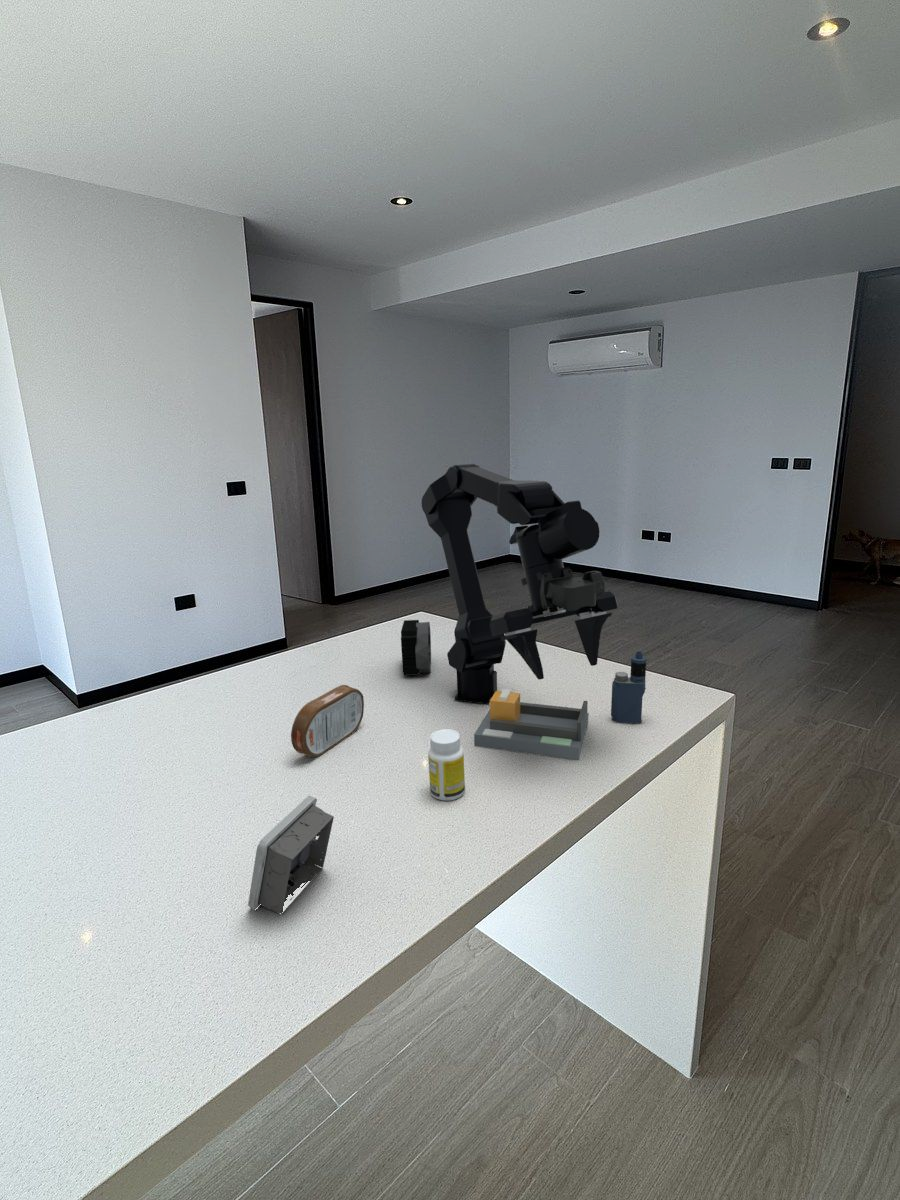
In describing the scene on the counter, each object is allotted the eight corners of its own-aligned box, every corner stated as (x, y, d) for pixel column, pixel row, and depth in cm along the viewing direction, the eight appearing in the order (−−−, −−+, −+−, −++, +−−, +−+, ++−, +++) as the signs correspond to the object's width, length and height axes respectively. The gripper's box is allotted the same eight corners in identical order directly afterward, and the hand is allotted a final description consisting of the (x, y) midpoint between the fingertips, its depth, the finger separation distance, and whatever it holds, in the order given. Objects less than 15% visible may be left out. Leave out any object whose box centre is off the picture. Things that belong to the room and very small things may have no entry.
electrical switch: (299, 856, 74) (298, 788, 71) (337, 870, 72) (337, 801, 69) (246, 912, 66) (242, 838, 63) (288, 929, 64) (285, 854, 61)
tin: (354, 722, 107) (350, 676, 105) (369, 726, 105) (365, 679, 103) (291, 763, 94) (286, 712, 92) (307, 768, 93) (302, 716, 91)
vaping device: (644, 724, 103) (648, 655, 99) (611, 722, 104) (613, 654, 100) (642, 717, 105) (646, 650, 102) (610, 715, 106) (613, 648, 103)
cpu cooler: (430, 680, 123) (428, 631, 121) (401, 680, 123) (398, 631, 121) (432, 661, 133) (430, 615, 131) (405, 661, 133) (403, 616, 131)
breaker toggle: (490, 723, 100) (489, 697, 99) (496, 712, 104) (496, 687, 103) (514, 726, 99) (514, 699, 98) (520, 715, 103) (520, 689, 101)
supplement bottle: (469, 785, 87) (467, 730, 85) (458, 804, 83) (456, 746, 81) (436, 780, 89) (434, 725, 86) (424, 798, 84) (422, 742, 82)
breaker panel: (474, 746, 98) (473, 716, 96) (494, 712, 108) (493, 686, 107) (578, 760, 92) (579, 729, 91) (588, 723, 103) (589, 695, 102)
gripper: (514, 564, 80) (542, 684, 79) (629, 544, 88) (656, 654, 86) (477, 580, 90) (501, 687, 89) (583, 561, 98) (607, 660, 97)
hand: (568, 672), depth 90 cm, fingers open, 9 cm apart
